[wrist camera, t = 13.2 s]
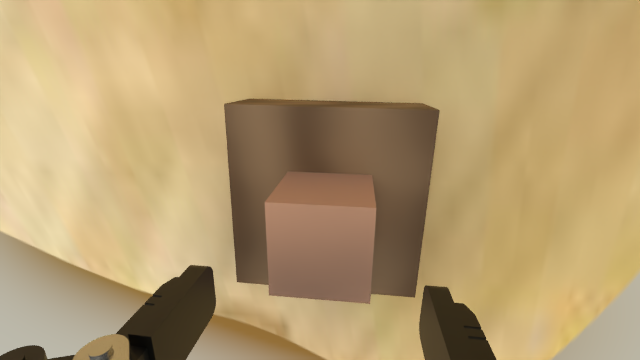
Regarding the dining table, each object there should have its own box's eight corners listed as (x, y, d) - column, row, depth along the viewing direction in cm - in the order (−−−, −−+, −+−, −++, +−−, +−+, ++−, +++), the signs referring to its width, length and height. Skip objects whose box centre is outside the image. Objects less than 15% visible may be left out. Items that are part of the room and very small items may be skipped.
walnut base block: (421, 103, 22) (439, 110, 17) (404, 256, 26) (414, 297, 21) (251, 98, 23) (224, 103, 18) (258, 245, 27) (237, 282, 22)
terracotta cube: (372, 174, 19) (376, 208, 14) (367, 250, 20) (370, 303, 15) (288, 171, 19) (264, 202, 14) (289, 245, 21) (269, 295, 16)
